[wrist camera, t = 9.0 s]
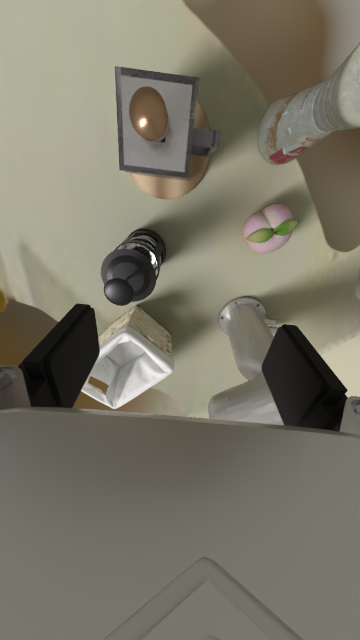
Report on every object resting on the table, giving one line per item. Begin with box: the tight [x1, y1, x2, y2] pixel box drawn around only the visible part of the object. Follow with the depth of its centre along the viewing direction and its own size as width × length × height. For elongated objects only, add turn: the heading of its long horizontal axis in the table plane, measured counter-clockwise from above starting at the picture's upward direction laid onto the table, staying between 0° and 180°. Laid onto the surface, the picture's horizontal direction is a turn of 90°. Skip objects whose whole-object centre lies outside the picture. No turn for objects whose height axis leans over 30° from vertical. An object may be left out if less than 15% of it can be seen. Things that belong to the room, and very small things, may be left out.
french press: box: [101, 229, 166, 306], centre depth 38 cm, size 12×9×23 cm
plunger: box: [129, 86, 169, 144], centre depth 28 cm, size 6×6×19 cm
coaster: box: [129, 100, 209, 199], centre depth 38 cm, size 16×16×1 cm
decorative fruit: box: [242, 203, 299, 253], centre depth 40 cm, size 9×8×10 cm
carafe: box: [115, 66, 220, 181], centre depth 31 cm, size 12×9×15 cm
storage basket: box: [81, 306, 174, 409], centre depth 56 cm, size 24×16×15 cm
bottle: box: [258, 43, 360, 165], centre depth 25 cm, size 9×9×28 cm
